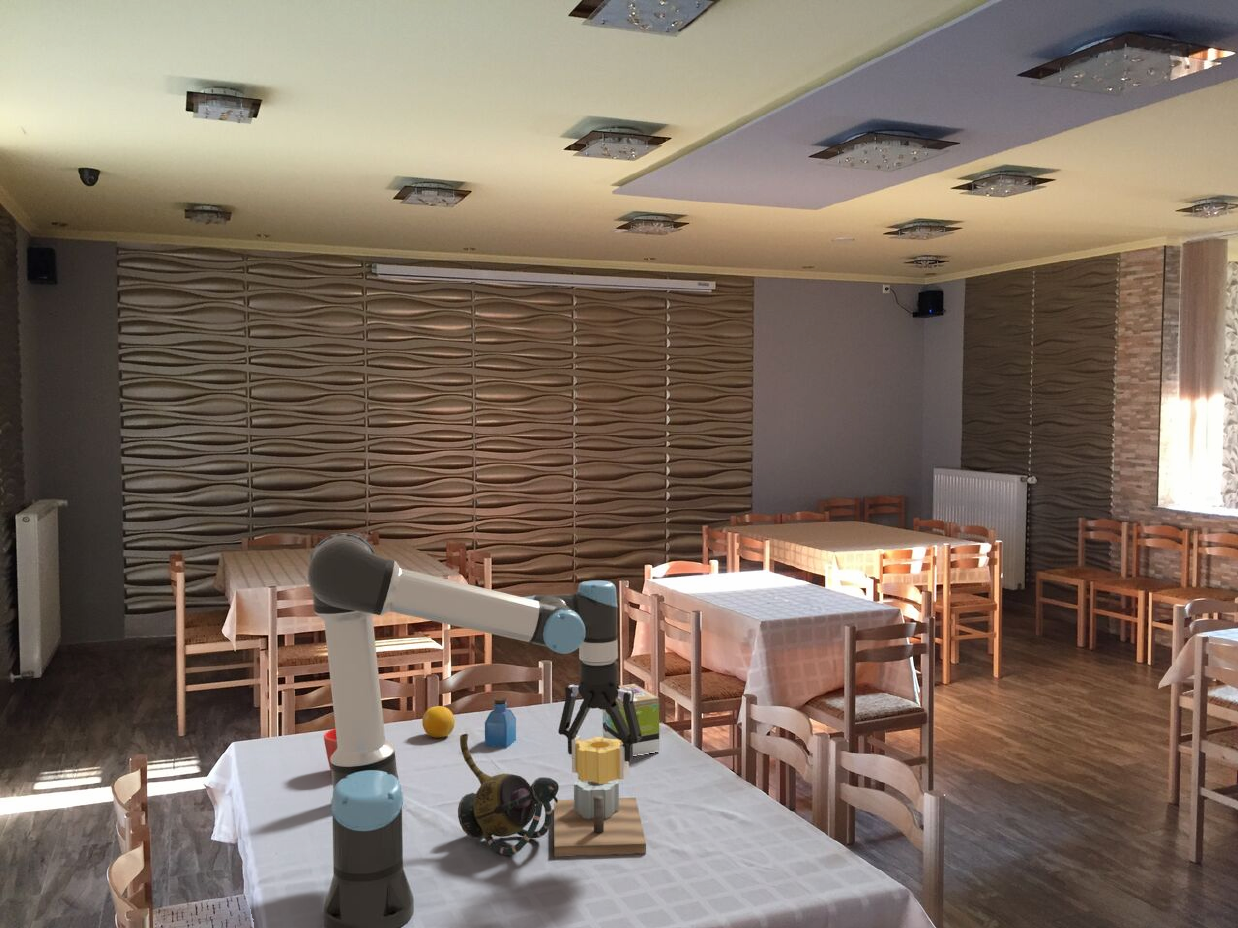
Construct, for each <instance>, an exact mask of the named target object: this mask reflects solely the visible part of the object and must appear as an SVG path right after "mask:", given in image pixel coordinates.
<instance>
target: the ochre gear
mask: <svg viewBox="0 0 1238 928" xmlns="http://www.w3.org/2000/svg"><path fill="white" fill-rule="evenodd" d="M621 744H622V741H621V740H618V739H607V738H603V736H593V738H590V739H586V740H581V741H579V742H577V743H576V761H577V772H576V774H577V779H578V781H579V780H580V781H582V782H584V781H589V782H596V783H599V784H607V782H610V781H613V780H615V781H618V780H621V779H620V745H621Z"/></svg>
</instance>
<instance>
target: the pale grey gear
mask: <svg viewBox="0 0 1238 928" xmlns="http://www.w3.org/2000/svg"><path fill="white" fill-rule="evenodd" d="M619 786H620V783H619V780H613V781H610V782H607V784H601V786H592V782H589V781H584V782H582V781H580V780H578V781H574V782H573V799H574V812H578V813H579V814H580V815H582V816H583V818H587V819H590V818H594V797H595V796H603V797H604V818H609V817H612V814H613V813H614V812H615V811H619V798H620V795H619V794H620V793H619V791H620V790H619V789H620V787H619Z"/></svg>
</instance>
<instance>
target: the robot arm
mask: <svg viewBox="0 0 1238 928" xmlns="http://www.w3.org/2000/svg"><path fill="white" fill-rule="evenodd" d="M307 582H308V585H309V588H310V589H311V594H312V600H313V601H312V603H313V610H314V611H313V612H314V614H315V615H316V616H318V617H319V618H320V619H322V620H323V624H324V633H325V642H326V652H327V661H328V669H329V679H330V681H329V682H330V687H331V697H332V699H331V700H332V708H333V715H334V725H335V726H334V727H335V728H334V729H336V737H337V747H338V748H337V750H336V751H335V752H334V753H333V754H332V756H331V757H330V762H331V771H330V773H331V772H332V774H331V780H332V797H331V801H330V807H331V813H332V814H331V815H332V860H333V861H332V863H333V867H332V869H333V875H332V876H333V877H332V880H331V882H330V886H329V889H328V892H327V895H326V898H325V901H324V904H323V905H324V906H323V925H324V927H325V928H400V927H402V926H403V925H405V924H406V923H407V922H409V921H410V920H411V919H412V916H413V915H414V912H415V911H414V910H415V908H414V907H415V905H414V904H415V903H414V902H415V901H414V895H413V891H412V889H411V886H410V883H409V881H408V878H407V875H406V872H405V870H404V860H403V859H404V856H403V855H404V852H403V851H404V850H403V849H404V848H403V839H404V838H403V804H404V793H403V791H402V785H401V782H400V780H399V775H398V768H397V767H398V766H397V759H396V758H397V756H396V751H395V750H396V749H395V746H394V745H393V744H392V743H391V742H389V741H388V740H386V734H385V725H384V724H385V723H384V714H383V705H382V696H381V685H380V684H381V683H380V677H379V676H380V675H379V666H378V665H379V664H378V657H377V647H376V637H375V629H374V628H375V627H374V617H373V615H375V616H383V615H385V614H387V613H389V612H391V613H395V614H400V615H404V616H409V617H413V618H418V619H422V620H425V621H426V620H427V621H430V622H435V623H440V624H445V625H449V626H454V627H460V628H464V629H468V630H472V631H476V632H483V633H486V634H491V635H495V636H500V637H504V638H508V639H514V640H518V641H521V642H522V641H523V642H527V643H531V644H533V645H538V646H543V647H545V648H548V650H549V649H550V650H551V651H552V652H555V653H558V654H562V655H565V654H570V653H573V652H575V651H577V650H578V652H579V654H578V656H579V657H578V658H579V660H580V662H579V685H575V684H574V683H571V684H569V685H567V686H566V687H565V688H564V692H565V700H564V705H563V710H562V712H561V718H560V722H559V727H558V734H559V735H561V736H562V735H563V736H564V737H566V738H567V753H568V755H571V772H572V773H575V774H577V761H576V743H577V742H579V741H582V736H581V735H579V731H580V729H581V727H582V725H583V724H584V721H585V719H586V717H587V715H588V713H589V711H590V709H592V710H593V709H599V710H602V711H603V710H606V712H607V714H609V715H610V717H611V719H612V722H613V724H614V726H615V728H616V730H617V732H618V734H619V736H620V738H621V740H622V742H623V743H622V744H621V745H620V779H619V780H625V779H626V778H627V777H628V776H629V775H630V761H632V760H633V758H634V757H633V744H636V743H637V742H638V741H640V740H641V739H642V734H641V730H640V726H639V722H638V718H637V714H636V711H635V707H634V703H633V698H634V692H633V690H629V691H625V690H620V688H619V686H620V685H619V663H618V661H617V659H618V658H619V657H618V656H619V654H618V653H619V650H618V646H619V644H618V643H619V642H618V607H619V605H618V598H617V597H618V596H617V595H618V594H617V588H616V587H617V586H616V585H615V584H614V583H613V582H612V581H608V580H600V579H599V580H597V579H596V580H587V581H586V580H585V581H582V582H579V584H578V587H577V592H573V593H564V594H544V595H541V594H539V595H537V594H534V595H529V596H523V597H522V596H519V595H514V594H510V593H505V592H502V591H499V590H498V591H497V590H493V589H490V588H489V589H488V588H484V587H481V586H477V585H472V584H468V583H464V582H459V581H454V580H450V579H446V578H443V577H439V576H434V575H429V574H426V573H421V572H417V571H412V570H409V569H404V568H401V567H400V565H399V563H398V562H397V561H396V560H393V559H388V558H385V557H383V556H379V555H376V553H375V551H374V549H373V547H372V546H371V545H370V544H369V542H368V541H366V540H365V539H364V538H362V536H358V535H355V534H351V533H336V534H332V535H330V536H328V537H325V538H324V539H323V540H321V541H320V542H319V543H318V544H317V545H316V546H315V548H313V551H312V552H311V555H310V557H309V564H308V568H307ZM579 694H580V696H581V698H582V700H583V701H582V702H581V704H580V706H579V710H578V712H577V714H576V716H575V717H574V719H573V720H572V718H573V713H574V710H575V704H576V702H577V701H576V700H577V696H578V695H579ZM618 696H620V698H621V701H622V702H623V708H624V712H625V716H626V720H627V724H628V726H627V724H626V722H625V720H624V718H623V716H622V714H621V712H620V710H619V705H618V703H617V701H616V698H617V697H618ZM611 706H612V707H611ZM572 721H573V722H572ZM571 722H572V723H571Z"/></svg>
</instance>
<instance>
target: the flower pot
mask: <svg viewBox="0 0 1238 928" xmlns="http://www.w3.org/2000/svg"><path fill="white" fill-rule="evenodd" d="M323 741H324V746H325V753H326V756H327V757H326V758H327V762H328V767H329V770H330V774H331V775H332V772H331V762H330V757H331V756H332V754H333V753H334V752H335V751H336V750H337V737H336V728H332V729H329V730H328V731H325V733H324V734H323Z"/></svg>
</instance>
